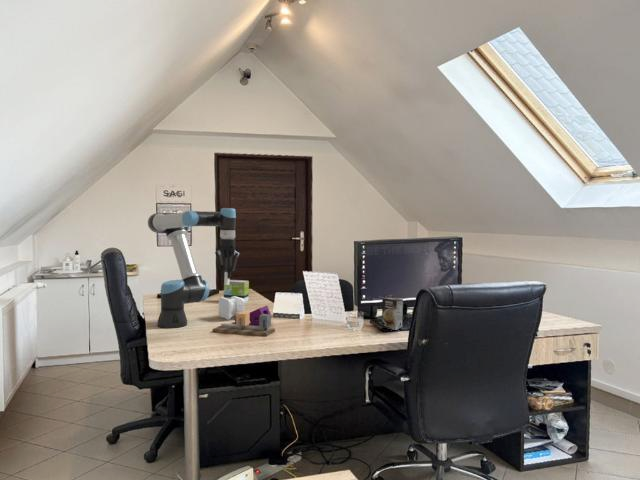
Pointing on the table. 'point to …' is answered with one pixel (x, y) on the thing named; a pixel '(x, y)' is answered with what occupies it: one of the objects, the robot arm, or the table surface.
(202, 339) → the table surface
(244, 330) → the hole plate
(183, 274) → the robot arm
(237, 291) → the tea box
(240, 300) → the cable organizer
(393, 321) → the coffee box
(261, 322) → the rail and fixed leg
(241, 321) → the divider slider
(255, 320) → the mounting bracket
